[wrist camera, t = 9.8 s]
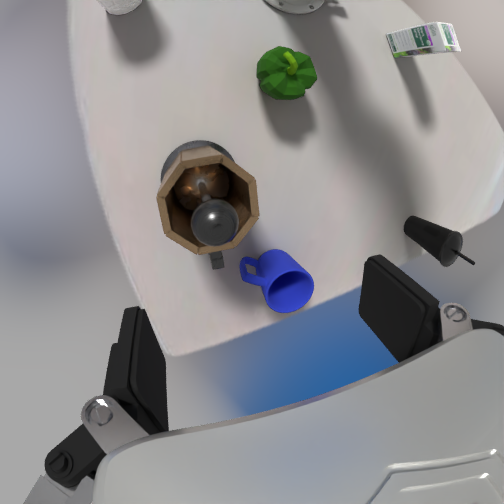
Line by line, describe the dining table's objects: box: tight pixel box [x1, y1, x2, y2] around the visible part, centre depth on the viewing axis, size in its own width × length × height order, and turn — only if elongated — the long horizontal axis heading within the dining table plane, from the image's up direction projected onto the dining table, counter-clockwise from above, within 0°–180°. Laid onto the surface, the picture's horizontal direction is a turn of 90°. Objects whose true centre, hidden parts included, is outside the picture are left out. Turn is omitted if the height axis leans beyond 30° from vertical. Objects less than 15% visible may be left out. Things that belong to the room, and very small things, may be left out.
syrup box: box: [386, 22, 461, 58], centre depth 33 cm, size 6×6×14 cm
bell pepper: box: [257, 46, 317, 100], centre depth 35 cm, size 8×8×10 cm
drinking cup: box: [404, 216, 475, 267], centre depth 49 cm, size 8×8×20 cm
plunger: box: [174, 163, 239, 247], centre depth 30 cm, size 8×8×19 cm
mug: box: [240, 249, 314, 313], centre depth 48 cm, size 8×12×10 cm
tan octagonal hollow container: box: [156, 140, 259, 269], centre depth 36 cm, size 12×14×18 cm
